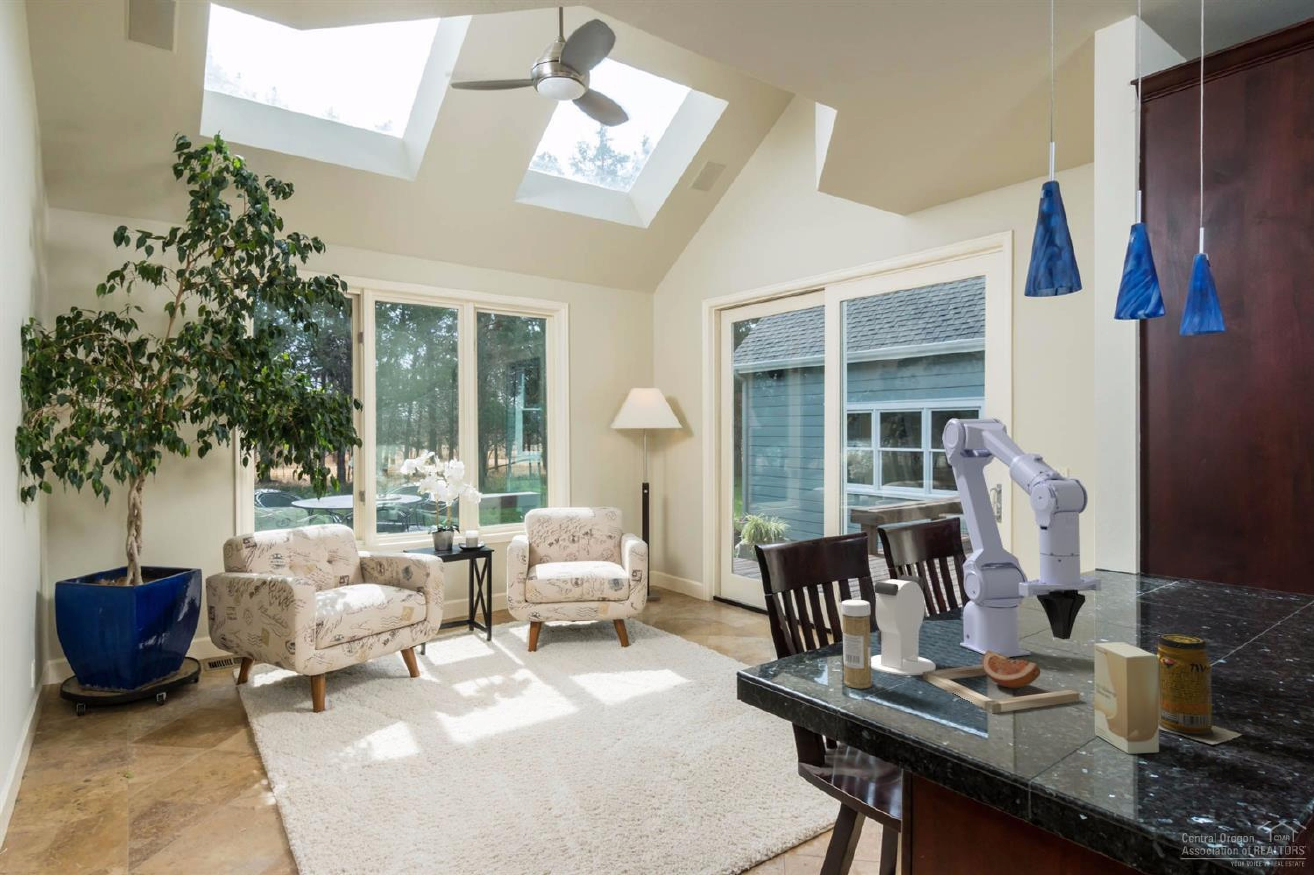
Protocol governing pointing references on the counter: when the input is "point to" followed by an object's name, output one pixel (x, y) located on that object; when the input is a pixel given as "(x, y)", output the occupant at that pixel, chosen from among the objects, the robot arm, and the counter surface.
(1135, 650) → the skincare box
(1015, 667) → the fruit slice
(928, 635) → the counter surface
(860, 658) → the brown spice jar
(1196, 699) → the condiment
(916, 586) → the white two-tone upright fixture
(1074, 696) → the frame
